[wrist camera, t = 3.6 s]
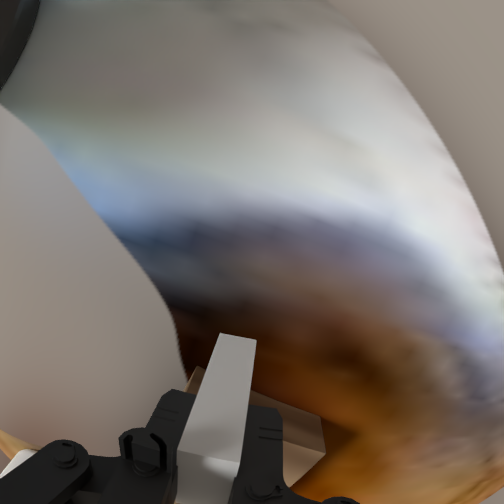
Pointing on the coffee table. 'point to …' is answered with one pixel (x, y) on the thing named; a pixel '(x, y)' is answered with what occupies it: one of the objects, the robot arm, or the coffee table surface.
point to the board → (285, 431)
